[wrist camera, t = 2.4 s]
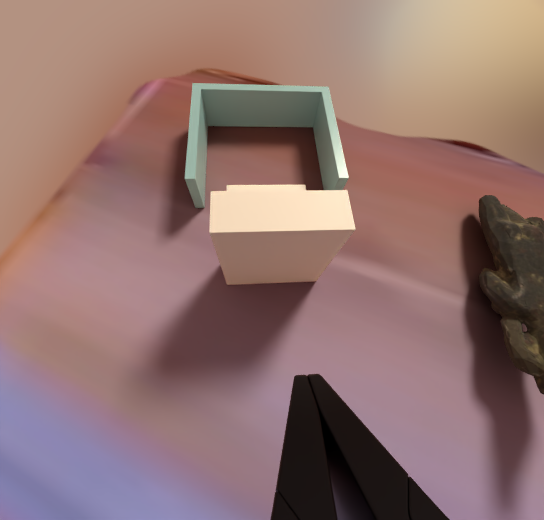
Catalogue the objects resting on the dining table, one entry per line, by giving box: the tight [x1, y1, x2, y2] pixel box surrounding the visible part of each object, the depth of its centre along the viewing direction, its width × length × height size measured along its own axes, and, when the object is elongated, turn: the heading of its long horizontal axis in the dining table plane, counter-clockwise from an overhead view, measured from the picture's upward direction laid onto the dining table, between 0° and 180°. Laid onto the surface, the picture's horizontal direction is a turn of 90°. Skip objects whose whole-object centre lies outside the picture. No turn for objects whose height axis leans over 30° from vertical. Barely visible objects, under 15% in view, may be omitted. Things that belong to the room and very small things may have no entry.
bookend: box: [210, 185, 355, 285], centre depth 19 cm, size 10×8×9 cm
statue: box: [479, 195, 544, 394], centre depth 20 cm, size 6×6×20 cm
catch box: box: [185, 83, 349, 208], centre depth 24 cm, size 11×13×4 cm
